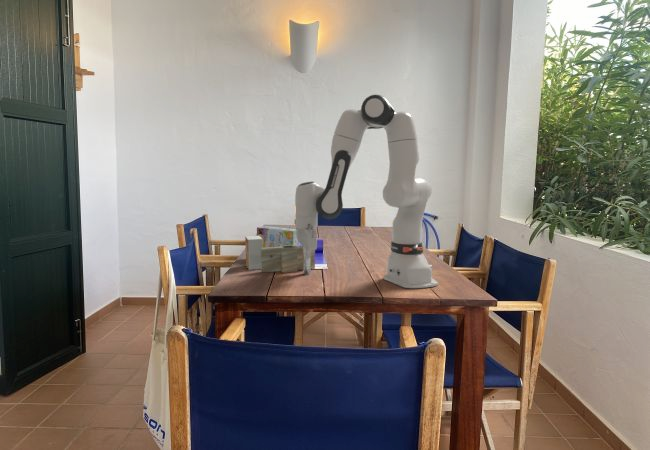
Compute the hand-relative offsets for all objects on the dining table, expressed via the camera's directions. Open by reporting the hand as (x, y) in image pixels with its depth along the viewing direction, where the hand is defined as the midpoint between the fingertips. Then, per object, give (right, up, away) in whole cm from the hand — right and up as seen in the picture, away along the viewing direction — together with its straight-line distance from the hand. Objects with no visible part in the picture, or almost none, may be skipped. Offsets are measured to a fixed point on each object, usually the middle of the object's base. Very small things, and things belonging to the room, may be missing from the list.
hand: (306, 256), depth 193 cm
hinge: (-8, -6, +7) cm, 12 cm away
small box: (-23, -6, +12) cm, 27 cm away
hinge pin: (0, -7, +1) cm, 7 cm away
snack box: (-14, -4, +25) cm, 29 cm away
